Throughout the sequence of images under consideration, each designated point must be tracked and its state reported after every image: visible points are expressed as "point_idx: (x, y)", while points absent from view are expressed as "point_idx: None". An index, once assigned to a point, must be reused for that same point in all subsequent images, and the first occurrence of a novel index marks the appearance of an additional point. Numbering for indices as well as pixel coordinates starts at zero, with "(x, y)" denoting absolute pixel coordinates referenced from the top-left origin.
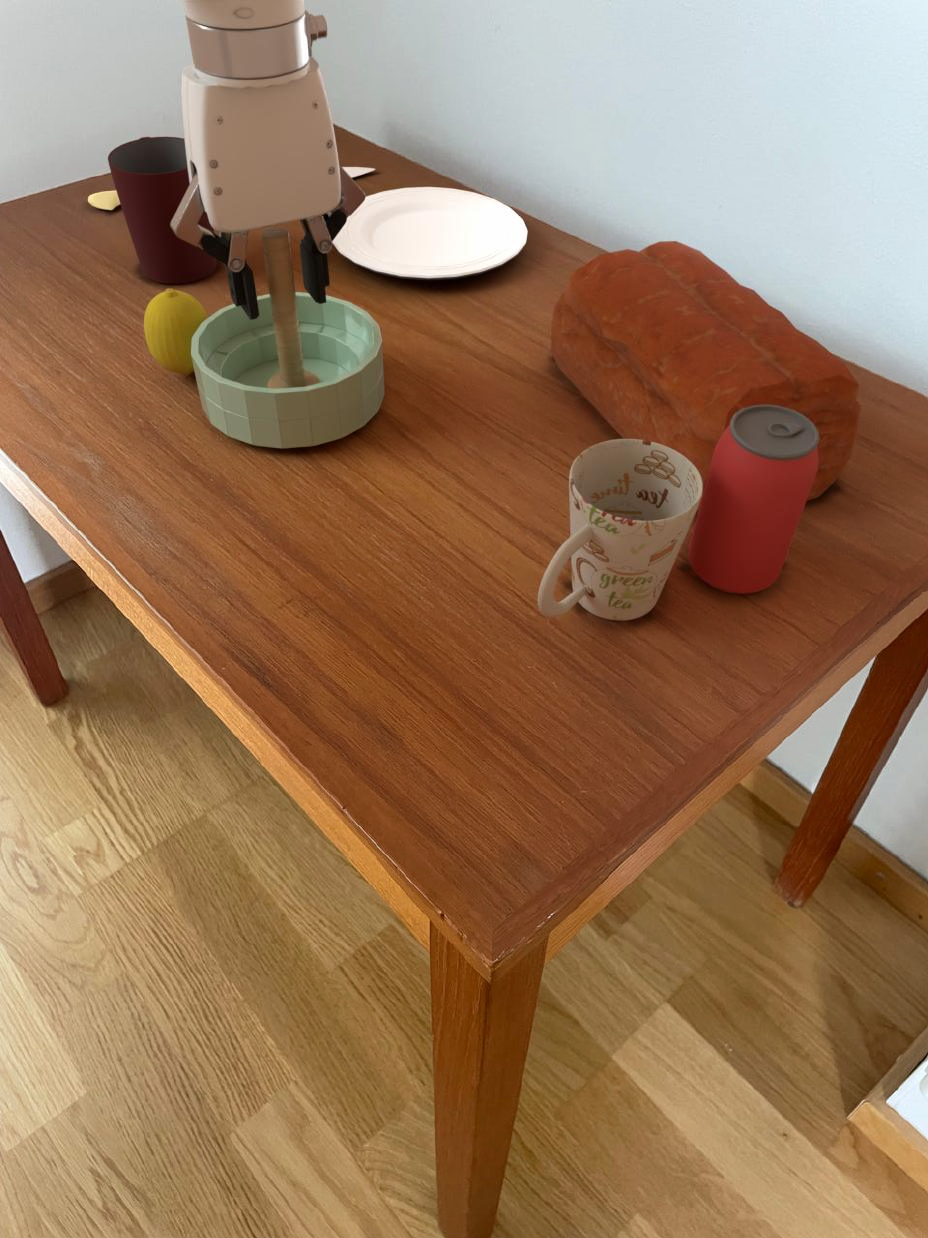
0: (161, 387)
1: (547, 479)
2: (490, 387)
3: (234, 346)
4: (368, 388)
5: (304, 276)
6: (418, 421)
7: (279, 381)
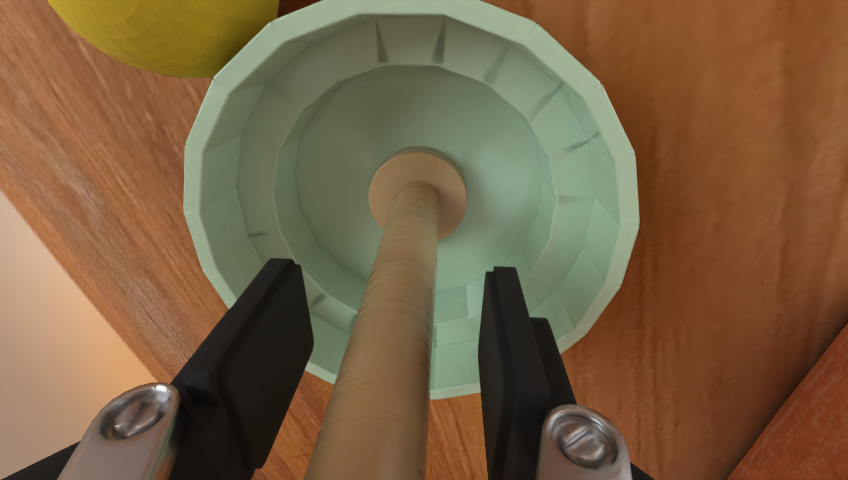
0: None
1: None
2: (723, 289)
3: (319, 83)
4: None
5: (488, 306)
6: None
7: (394, 183)
